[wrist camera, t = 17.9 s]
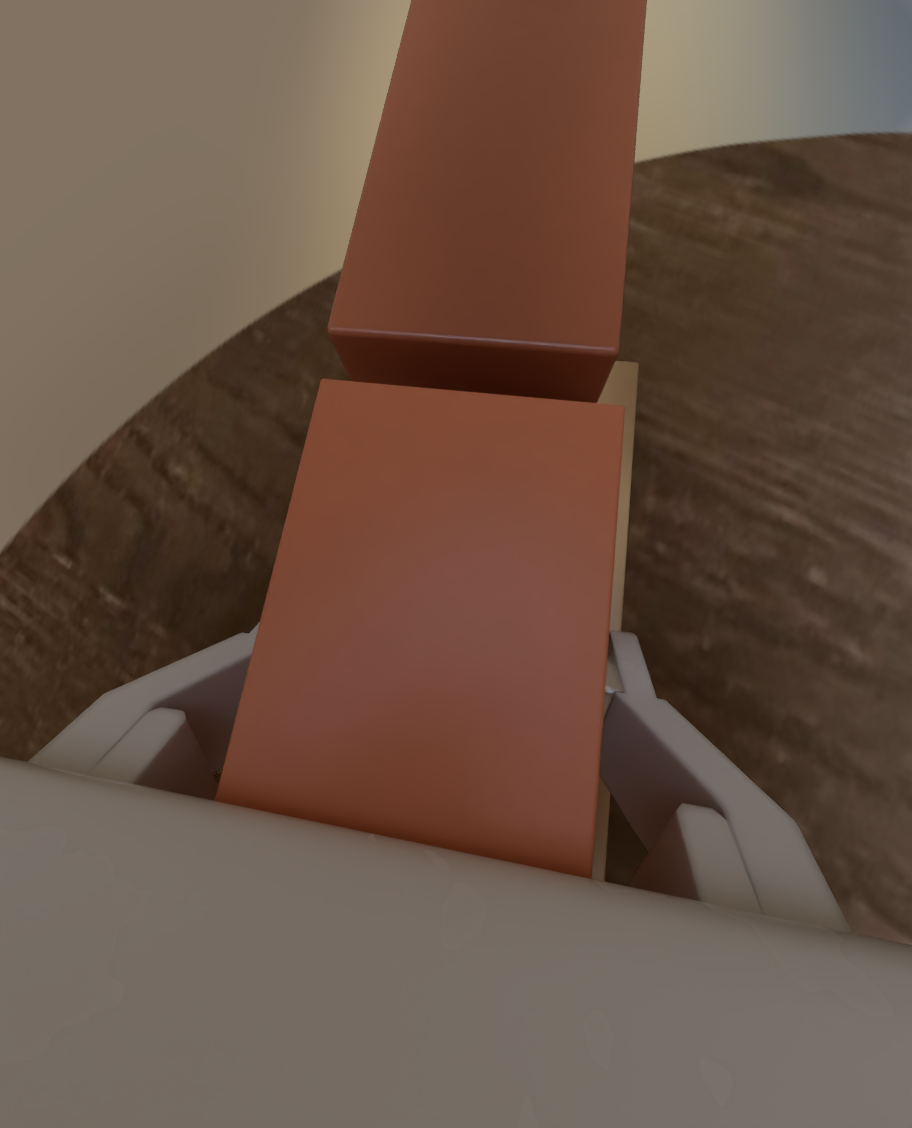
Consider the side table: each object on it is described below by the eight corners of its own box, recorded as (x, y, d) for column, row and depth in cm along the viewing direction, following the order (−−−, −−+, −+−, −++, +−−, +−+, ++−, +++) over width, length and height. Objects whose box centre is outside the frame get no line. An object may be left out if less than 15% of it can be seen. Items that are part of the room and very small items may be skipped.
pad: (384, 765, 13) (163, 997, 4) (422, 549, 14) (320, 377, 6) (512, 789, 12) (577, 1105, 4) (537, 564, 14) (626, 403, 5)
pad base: (289, 814, 14) (-218, 1218, 4) (387, 362, 17) (257, -27, 8) (593, 877, 13) (970, 1646, 3) (628, 382, 16) (846, -38, 7)
